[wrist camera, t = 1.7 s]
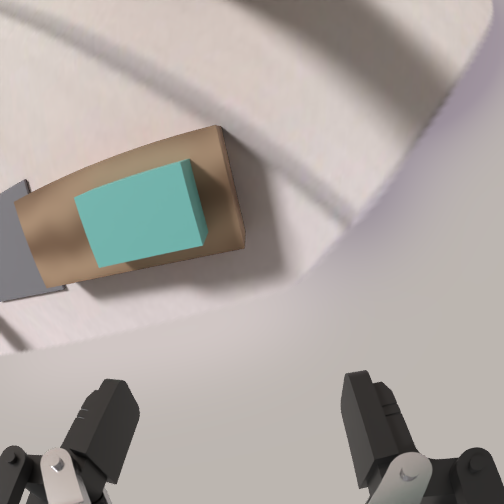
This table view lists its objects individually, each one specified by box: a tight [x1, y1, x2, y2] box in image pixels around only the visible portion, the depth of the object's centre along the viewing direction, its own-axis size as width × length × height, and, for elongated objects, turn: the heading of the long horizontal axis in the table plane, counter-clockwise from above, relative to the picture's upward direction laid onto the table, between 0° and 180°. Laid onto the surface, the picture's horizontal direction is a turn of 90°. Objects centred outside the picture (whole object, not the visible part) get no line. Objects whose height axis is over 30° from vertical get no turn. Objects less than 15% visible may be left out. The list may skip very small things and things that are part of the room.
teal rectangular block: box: [74, 159, 208, 268], centre depth 21 cm, size 6×9×3 cm, turn 102°
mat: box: [0, 179, 65, 302], centre depth 28 cm, size 14×16×1 cm
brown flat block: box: [14, 125, 245, 288], centre depth 25 cm, size 10×22×4 cm, turn 102°
